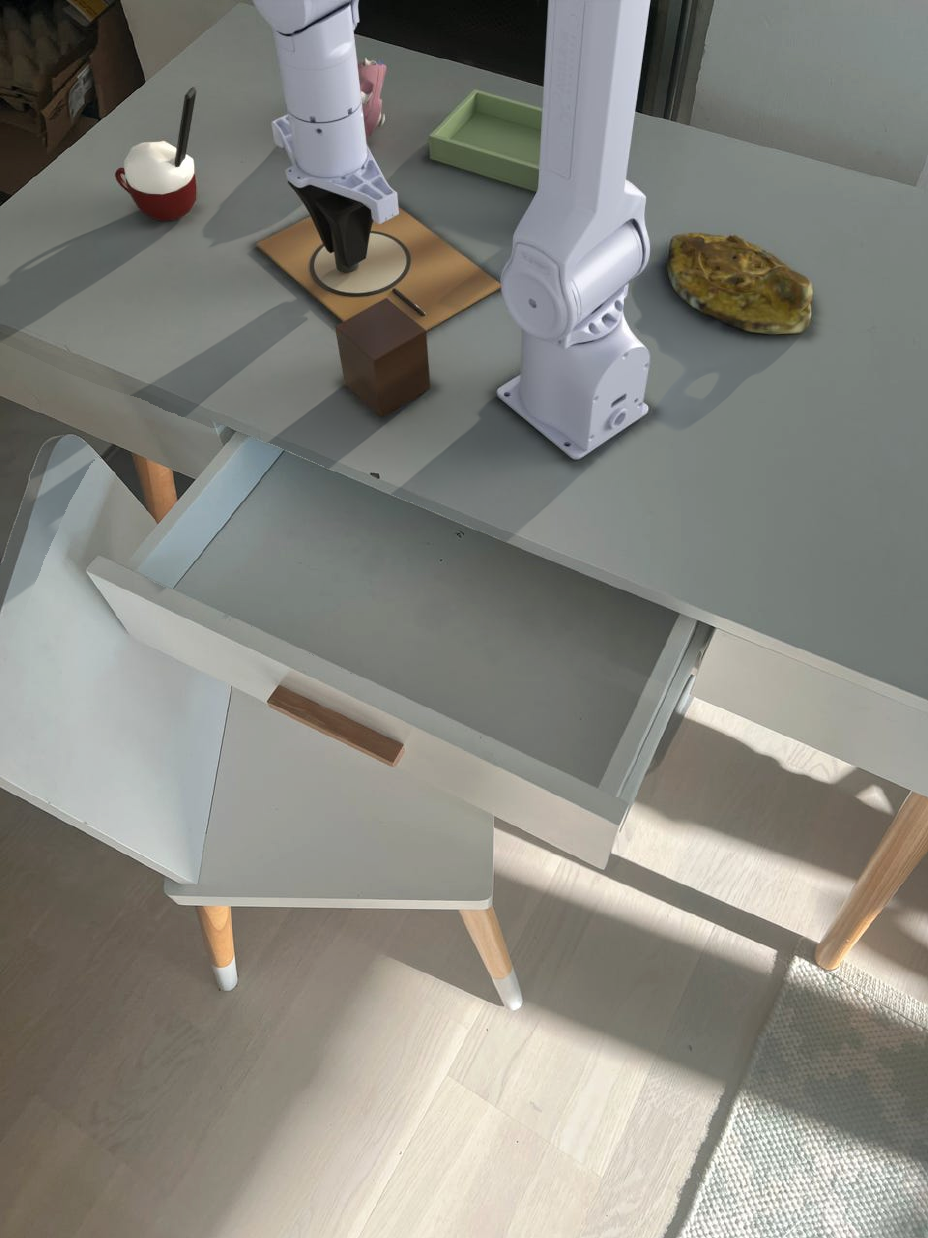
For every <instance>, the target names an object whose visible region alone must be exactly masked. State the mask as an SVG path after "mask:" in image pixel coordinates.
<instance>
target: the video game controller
mask: <svg viewBox="0 0 928 1238" xmlns="http://www.w3.org/2000/svg"><path fill="white" fill-rule="evenodd" d="M357 66H358V74H359V83H360V92H361V100H362V109H363V118H364V126H365V135H366V140H367V139H368V138H369V137H370V136H372V135H373V133H374V131H375V129H376V127H377V126H378V127H379V128H381V127H382V126H384V124H385V121H386V117H385V114H384V113H383V114H382V107H383V99H382V98H380V97H381V91H382V89H383V85H384V81H385V77H386V72H387V65H386V64H383V63H382V62H381V61H378V60H377V61H376V60H375V59H372V60H368V59H367V57H364V60H360V61H359V62H358V63H357Z"/></svg>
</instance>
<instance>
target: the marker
mask: <svg viewBox="0 0 928 1238" xmlns="http://www.w3.org/2000/svg"><path fill="white" fill-rule="evenodd" d="M330 231H331V237H332V244H333V250H334V256H335V262H336V268H337V269H338V271H340V272H343V273H351V272H353V271H355V270H356V269H357V268H358V266H359V263H357V264H355V265H353V266H351V267H349V268H348V267H346V266H345V265H344V264H343V262H342V260H341V258H340V256H339V253H338V249H337V246H336V242H335V238H334V235H333V232H332V230H331V227H330Z"/></svg>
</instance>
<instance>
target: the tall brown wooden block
mask: <svg viewBox="0 0 928 1238" xmlns="http://www.w3.org/2000/svg"><path fill="white" fill-rule="evenodd" d="M334 329H335V335H336V342H337V348H338V352H339V359H340V364H341V371H342V376H343V382H344V385H345V386H346V387H347V388H348V389H350V391H352V392H353V394H355V395H356V396H357V397H358V398H360V400H361V401H363V402H364V403H365V404H366V405H367V406H368V407H369V409H371V410H372V411H373V412H375V414H377V415H378V416H379V417H380V418H384V417H385V416H387V415H389V414H390V413H392V412H394V411H395V410H397V409H399V408H400V407H402V406H403V405H405V404H407V403H408V402H410V401H412V400H413V399H415V398H417V397H418V396H420V395H421V394H423V393H425V392H426V391H428V390H430V389H431V378H430V377H431V376H430V364H429V350H428V337H427V335H428V334H427V331H426V330H425V329H424V328H423V327H421V326H420V325H419V324H418V323H417V322H415V321H414V320H413V319H412V318H411V317H409V316H408V315H407V314H406V313H405V312H403V311H402V310H401V309H400V308H399V307H397V306H396V305H395V304H394V303H392V302H391V301H390V300H389V299H388V298H385V299H383V300H381V301H379V302H378V303H376V304H374V305H372V306H371V307H369V308H367V309H365V310H363V311H362V312H360V313H358V314H356V315H354V316H353V317H351V318H349V319H347V320H345V321H344V322H343V321H342V322H340V323H338V324H337V325H335V326H334Z"/></svg>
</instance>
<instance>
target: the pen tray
mask: <svg viewBox="0 0 928 1238" xmlns="http://www.w3.org/2000/svg"><path fill="white" fill-rule="evenodd" d="M542 108H543V107H538V106H535V105H532V104H528V103H525V102H523V101H517V100H515V99H511V98H507V97H504V96H500V95H497V94H493V93H489V92H487V91H483V90H480V89H476V88H474V89H473V90H472V91H471V92H470V93H469V94H468V95H467V96H466V97H465V98H464V99H463V100H462V101H461V102H460V103H459V104H457V106H456V107H455V108H454V109H453V110H452V111H451V112H450V113H449V114H448V115H447V116H446V118H445V119H444V120H442V121H441V123H439V125H438V126H437V127H435V129H434V130H433V131H432V132H431V133H430V134H429V135H428V141H429V142H428V144H429V145H428V146H429V159H430V160H433V161H435V162H439V163H443V164H445V165H448V166H452V167H456V168H459V169H462V170H465V171H468V172H471V173H473V174H474V173H475V174H477V175H481V176H484V177H487V178H490V179H493V180H496V181H500V182H503V183H507V184H508V185H513V186H515V187H519V188H522V189H525V190H528V191H532V192H537V190H538V180H539V162H540V144H541V126H542Z"/></svg>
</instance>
